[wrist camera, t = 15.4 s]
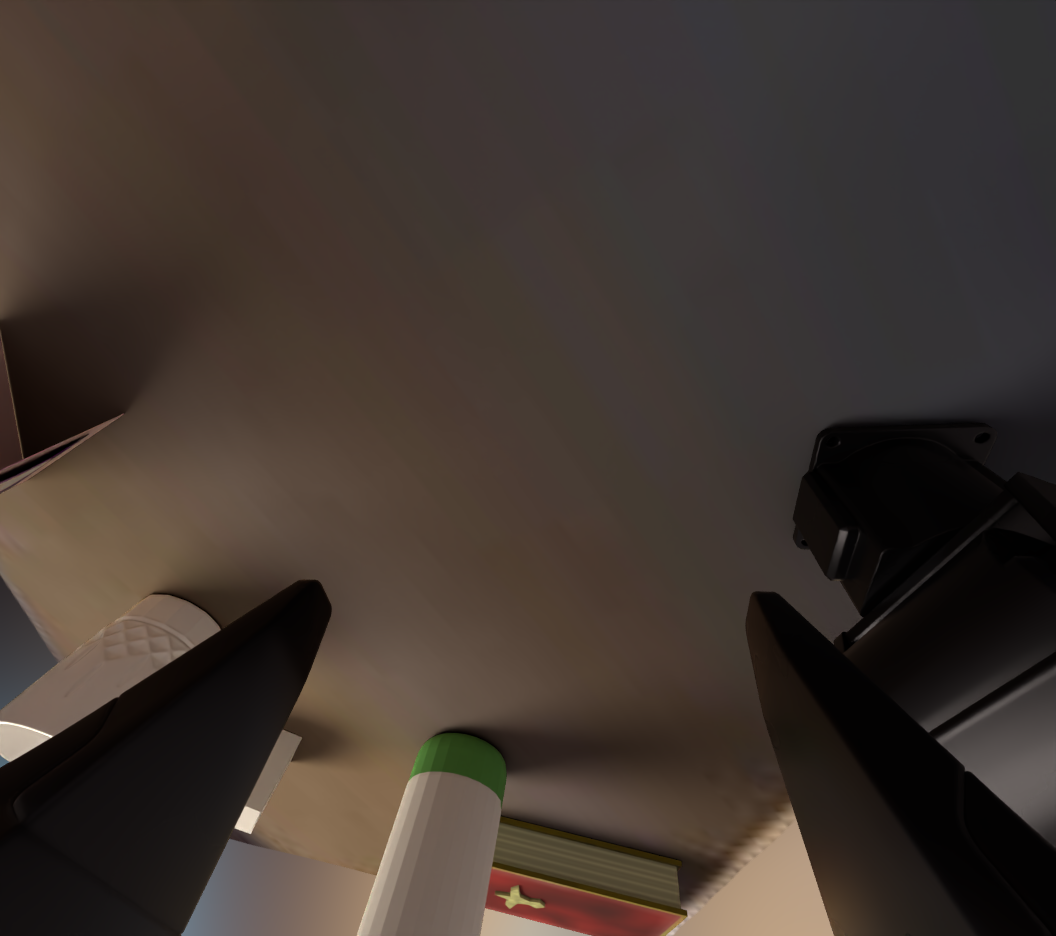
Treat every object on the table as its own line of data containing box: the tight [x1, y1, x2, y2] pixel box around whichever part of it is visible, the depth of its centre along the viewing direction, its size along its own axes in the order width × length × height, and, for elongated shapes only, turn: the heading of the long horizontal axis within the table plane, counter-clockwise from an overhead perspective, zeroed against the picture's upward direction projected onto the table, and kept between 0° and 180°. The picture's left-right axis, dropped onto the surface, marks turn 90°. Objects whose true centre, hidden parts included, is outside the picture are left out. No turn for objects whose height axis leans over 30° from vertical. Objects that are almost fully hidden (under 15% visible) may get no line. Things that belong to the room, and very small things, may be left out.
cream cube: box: [235, 730, 302, 834], centre depth 41 cm, size 6×6×6 cm
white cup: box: [0, 594, 221, 762], centre depth 31 cm, size 8×8×10 cm
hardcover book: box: [485, 816, 687, 936], centre depth 45 cm, size 12×21×4 cm, turn 80°
